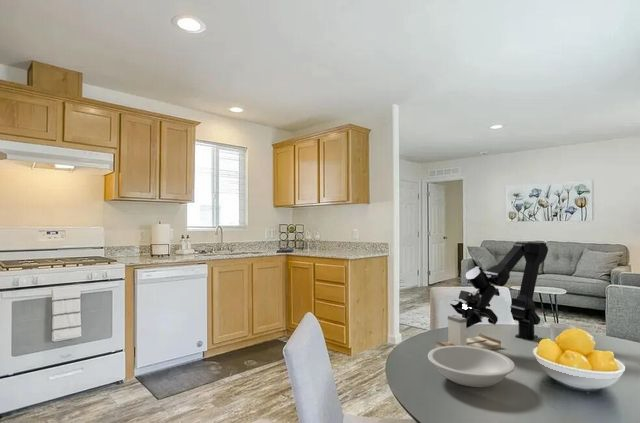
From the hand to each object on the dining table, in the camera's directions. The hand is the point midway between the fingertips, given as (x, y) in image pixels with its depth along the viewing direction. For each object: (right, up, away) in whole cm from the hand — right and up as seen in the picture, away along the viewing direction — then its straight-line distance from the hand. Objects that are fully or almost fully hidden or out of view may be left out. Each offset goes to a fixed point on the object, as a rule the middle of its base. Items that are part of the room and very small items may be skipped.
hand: (461, 329), depth 140 cm
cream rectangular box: (-2, -5, -1) cm, 6 cm away
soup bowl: (-8, -7, -28) cm, 30 cm away
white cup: (+34, -7, -6) cm, 35 cm away
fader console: (+3, -7, +1) cm, 8 cm away
